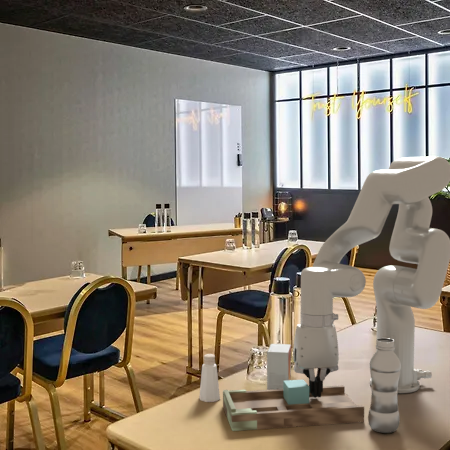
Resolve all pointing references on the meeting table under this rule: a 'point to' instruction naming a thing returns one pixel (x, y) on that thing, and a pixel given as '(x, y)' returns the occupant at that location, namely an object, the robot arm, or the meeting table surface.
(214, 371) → the salt shaker
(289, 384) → the block
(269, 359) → the small box
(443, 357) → the meeting table surface
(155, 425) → the meeting table surface
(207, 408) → the meeting table surface
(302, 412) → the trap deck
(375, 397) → the plastic bottle
